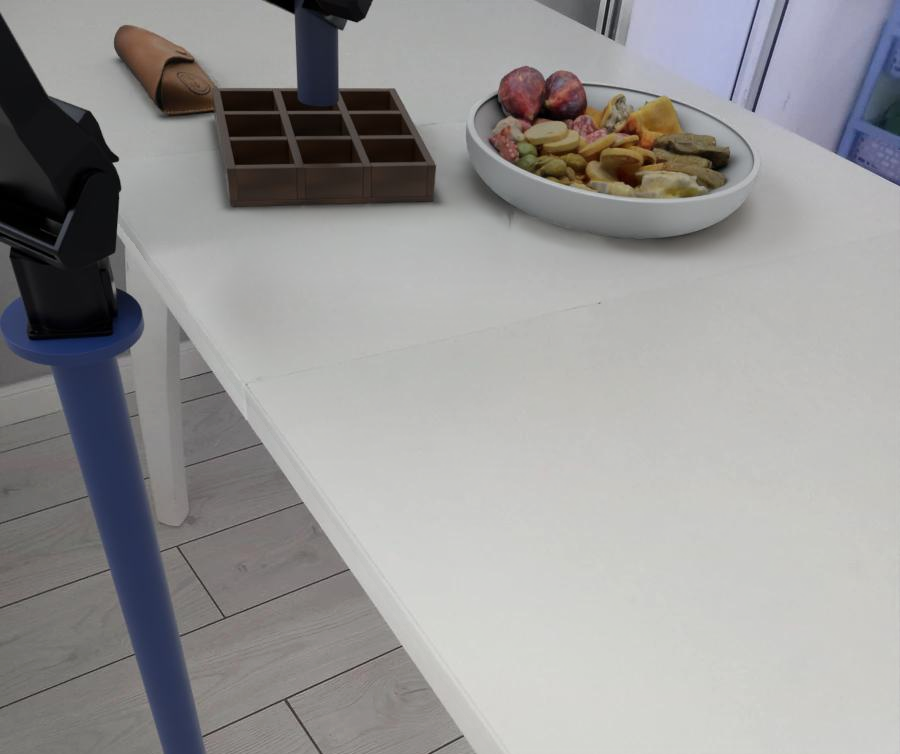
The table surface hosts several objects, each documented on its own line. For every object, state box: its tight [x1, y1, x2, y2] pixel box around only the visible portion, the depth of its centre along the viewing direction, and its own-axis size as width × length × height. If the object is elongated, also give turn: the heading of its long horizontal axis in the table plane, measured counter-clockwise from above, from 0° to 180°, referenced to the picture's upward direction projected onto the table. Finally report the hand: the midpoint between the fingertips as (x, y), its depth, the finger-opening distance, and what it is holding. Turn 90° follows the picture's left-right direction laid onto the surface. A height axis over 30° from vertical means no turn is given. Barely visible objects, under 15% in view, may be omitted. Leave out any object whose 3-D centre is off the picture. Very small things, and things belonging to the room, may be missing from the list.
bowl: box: [465, 65, 762, 239], centre depth 91 cm, size 30×30×8 cm
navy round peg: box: [293, 0, 340, 107], centre depth 83 cm, size 4×4×13 cm
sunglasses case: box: [113, 24, 218, 116], centre depth 101 cm, size 18×7×7 cm
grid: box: [212, 87, 437, 207], centre depth 91 cm, size 20×20×4 cm
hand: (325, 19), depth 83 cm, fingers closed on navy round peg, 4 cm apart
